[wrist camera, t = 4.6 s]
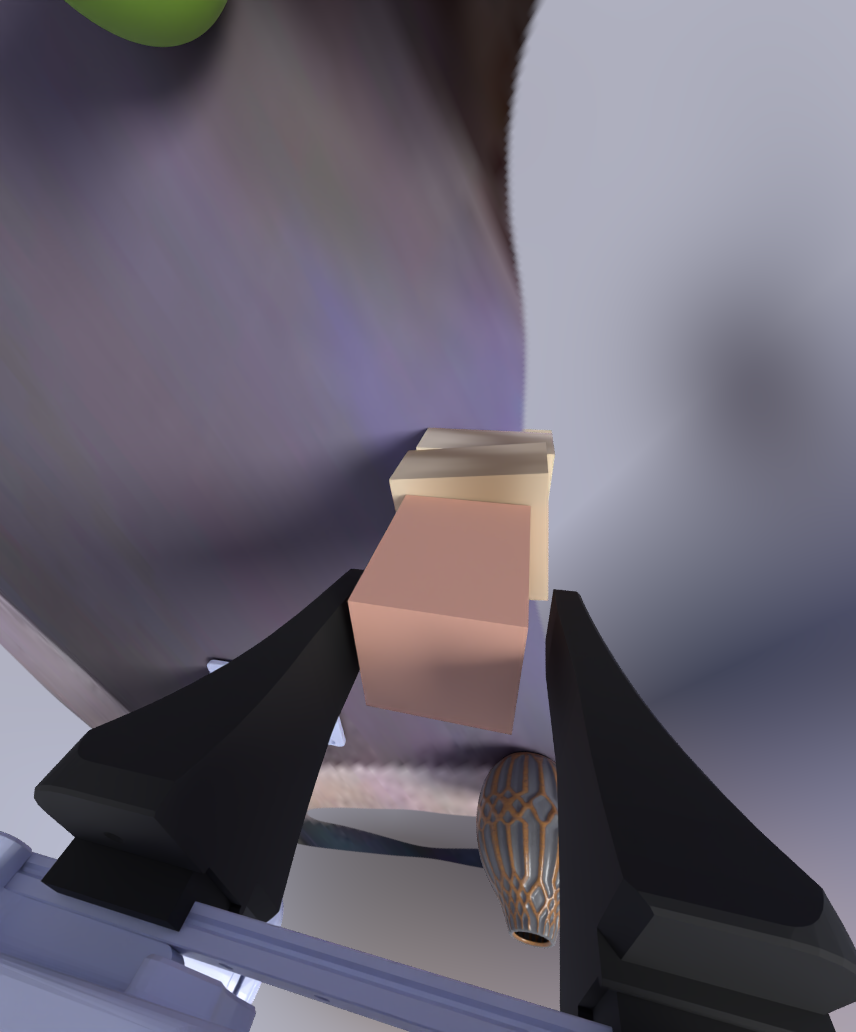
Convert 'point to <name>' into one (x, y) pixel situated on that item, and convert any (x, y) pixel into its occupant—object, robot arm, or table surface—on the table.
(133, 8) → the snail figurine
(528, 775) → the vase
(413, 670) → the block
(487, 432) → the tower base
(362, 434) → the table surface
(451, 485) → the tower top
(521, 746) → the table surface
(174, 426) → the table surface
